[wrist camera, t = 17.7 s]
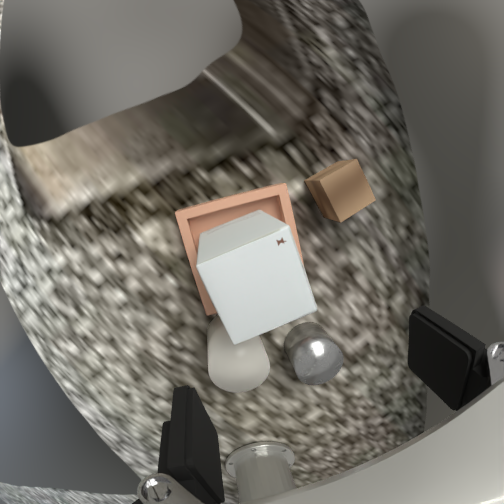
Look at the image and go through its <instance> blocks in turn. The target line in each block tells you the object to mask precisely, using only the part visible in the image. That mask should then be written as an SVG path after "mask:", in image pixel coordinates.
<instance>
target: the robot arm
mask: <svg viewBox="0 0 504 504" xmlns="http://www.w3.org/2000/svg"><path fill="white" fill-rule="evenodd" d="M408 366H409V368H410V369H411V370H412V371H413V372H414V373H415V374H416V375H417V376H418V377H419V378H420V379H421V380H422V381H423V382H424V383H425V384H426V385H427V386H428V387H429V388H430V389H431V390H432V391H434V392H435V393H436V394H437V395H438V396H439V397H440V398H441V399H442V400H443V401H444V402H445V403H446V404H447V405H448V406H449V407H450V408H451V409H452V410H456V412H455V413H454V414H452V415H451V416H449V417H448V418H446V419H445V420H443V421H442V422H440V423H438V424H437V425H435V426H434V427H432V428H431V429H429V430H427V431H425V432H424V433H422V434H420V435H419V436H417V437H415V438H414V439H412V440H410V441H408V442H406V443H405V444H403V445H401V446H399V447H397V448H395V449H393V450H391V451H389V452H387V453H385V454H383V455H381V456H379V457H377V458H375V459H373V460H371V461H368V462H366V463H364V464H362V465H359V466H357V467H355V468H352V469H350V470H347V471H345V472H343V473H340V474H337V475H335V476H332V477H329V478H327V479H324V480H321V481H318V482H315V483H312V484H309V485H306V486H303V487H300V488H296V486H295V483H294V480H293V477H292V474H291V471H290V467H291V466H292V465H293V463H294V460H295V455H294V453H293V450H292V449H291V448H290V447H289V446H287V445H285V444H282V443H278V442H257V443H253V444H249V445H246V446H243V447H241V448H239V449H237V450H235V451H234V452H232V453H231V454H230V455H229V456H228V457H227V459H226V462H225V466H226V471H227V472H228V474H230V475H231V476H232V477H234V478H236V481H237V488H238V494H239V500H240V503H238V504H504V342H497V343H494V344H492V345H491V346H490V347H489V348H488V350H487V349H485V344H484V343H482V342H481V341H479V340H478V339H476V338H475V337H473V336H472V335H470V334H469V333H467V332H466V331H464V330H463V329H461V328H459V327H458V326H456V325H455V324H453V323H452V322H450V321H448V320H447V319H445V318H444V317H442V316H440V315H439V314H437V313H435V312H434V311H432V310H431V309H429V308H428V307H426V306H421V307H419V308H417V309H415V310H413V311H412V313H411V315H410V317H409V348H408ZM137 494H138V497H139V499H138V500H136V501H135V502H134V503H132V504H220V503H222V502H224V501H225V498H224V490H223V481H222V472H221V463H220V453H219V443H218V435H217V432H216V429H215V427H214V426H213V424H212V422H211V420H210V418H209V416H208V414H207V412H206V410H205V408H204V406H203V404H202V402H201V400H200V398H199V396H198V394H197V392H196V390H195V388H190V387H189V386H188V385H187V386H182V387H177V388H174V392H173V402H172V411H171V421H166V422H164V423H163V427H162V435H161V444H160V454H159V464H158V473H155V474H151V475H149V476H147V477H145V478H144V479H143V480H142V481H141V482H140V484H139V485H138V489H137Z"/></svg>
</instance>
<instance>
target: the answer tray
mask: <svg viewBox="0 0 504 504" xmlns="http://www.w3.org/2000/svg"><path fill="white" fill-rule="evenodd" d="M259 209H260V210H261V211H263V212H265V213H267V214H269V215H271V216H273V217H274V218H276V219H278V220H280V221H282V222H284V223H285V224H287V225H289V226H290V229H291V232H292V235H293V238H294V240H295V243H296V246H297V249H298V252H299V255H300V258H301V261H302V263H303V259H302V254H301V249H300V244H299V240H298V235H297V230H296V225H295V221H294V216H293V212H292V207H291V203H290V198H289V194H288V189H287V185H286V183H280V184H275V185H271V186H267V187H263V188H259V189H255V190H251V191H247V192H243V193H239V194H235V195H231V196H227V197H224V198H220V199H216V200H212V201H209V202H205V203H201V204H198V205H194V206H191V207H187V208H184V209H180V210H177V211H176V212H175V214H176V218H177V222H178V225H179V229H180V232H181V235H182V239H183V242H184V246H185V249H186V252H187V256H188V259H189V262H190V265H191V269H192V272H193V275H194V278H195V281H196V284H197V287H198V290H199V294H200V297H201V300H202V303H203V306H204V309H205V312H206V314H207V316H208V315H212V314H215V313H217V311H216V309H215V307H214V305H213V303H212V301H211V299H210V297H209V295H208V293H207V290H206V288H205V286H204V284H203V282H202V280H201V277H200V275H199V273H198V270H197V268H196V264H197V255H198V245H199V237H200V233H202V232H204V231H207V230H209V229H211V228H214V227H216V226H219V225H221V224H224V223H226V222H229V221H231V220H234V219H236V218H239V217H241V216H244V215H246V214H249V213H251V212H254V211H256V210H259ZM303 265H304V264H303Z"/></svg>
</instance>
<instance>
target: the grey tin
mask: <svg viewBox="0 0 504 504" xmlns="http://www.w3.org/2000/svg"><path fill="white" fill-rule="evenodd" d="M284 348H285V351H286V353H287V355H288V358H289V360H290V362H291V364H292V366H293V368H294V370H295V372H296V374H297V376H298V378H299V379H300V380H301V381H302V382H303V383H305V384H308V385H318V384H322V383H325V382H327V381H329V380H330V379H332V378H333V377H334V376H335V375H336V374H337V373H338V372H339V370H340V369H341V367H342V364H343V354H342V352H341V350H340V349H339V348H338V346H337V345H336V344H335V343H334V341H333V340H332V339H331V338H330V336H329V335H328V334H327V332H326V331H325V330H324V329H323V327H322V326H320V325H319V324H317V323H314V322H305V323H302V324H299V325H297V326H295V327H294V328H293V329H292V330H291V331H290V332H289V333H288V334H287V336H286V338H285V341H284Z"/></svg>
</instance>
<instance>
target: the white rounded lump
mask: <svg viewBox="0 0 504 504" xmlns="http://www.w3.org/2000/svg"><path fill="white" fill-rule="evenodd" d="M207 347H208V372H209V376H210V378H211V380H212V382H213V383H214V384H215V385H216V386H218V387H219V388H221V389H223V390H225V391H229V392H246V391H249V390H252V389H254V388H256V387H258V386H259V385H260V384H262V383H263V382H264V380H265V379H266V378H267V376H268V374H269V371H270V362H269V359H268V356H267V354H266V351H265V348H264V345H263V343H262V340H261V337H260V335H258V336H256V337H253V338H251V339H248V340H246V341H243V342H241V343H238V344H236V345H234V344H233V342H232V341H231V339H230V337H229V335H228V333H227V331H226V329H225V327H224V325H223V323H222V321H221V319H220V317H219V315H218V316H216V317H215V318H214V319H213V320H212V321H211V322H210V324H209V326H208V330H207Z"/></svg>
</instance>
